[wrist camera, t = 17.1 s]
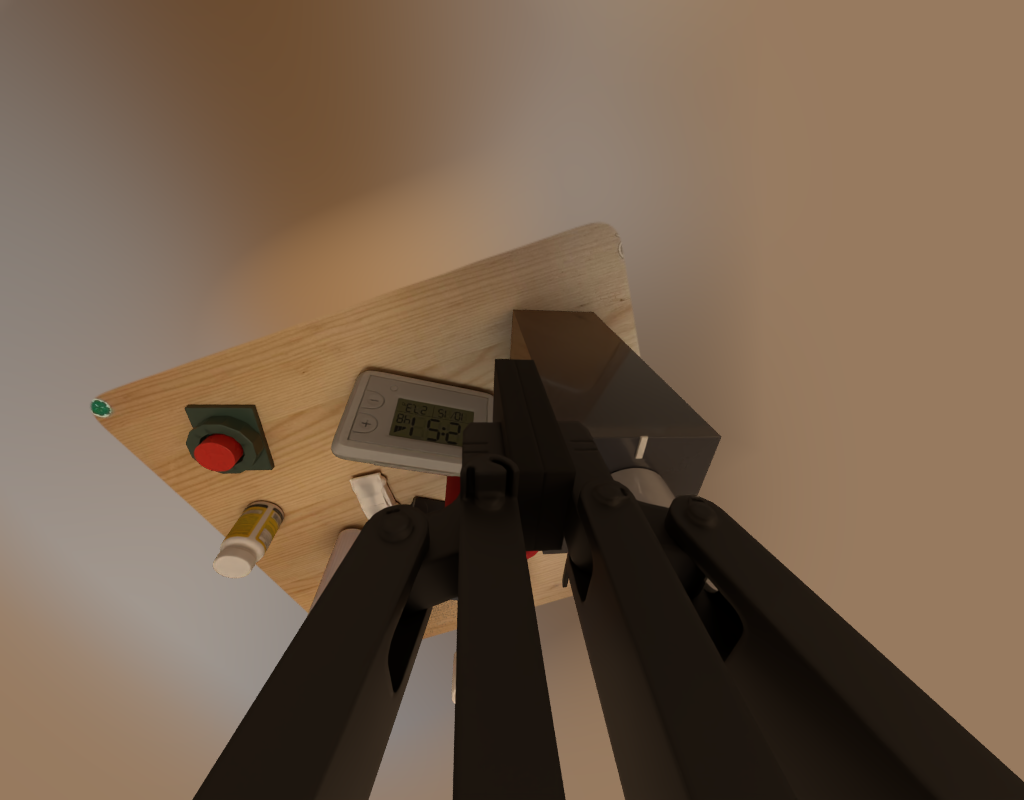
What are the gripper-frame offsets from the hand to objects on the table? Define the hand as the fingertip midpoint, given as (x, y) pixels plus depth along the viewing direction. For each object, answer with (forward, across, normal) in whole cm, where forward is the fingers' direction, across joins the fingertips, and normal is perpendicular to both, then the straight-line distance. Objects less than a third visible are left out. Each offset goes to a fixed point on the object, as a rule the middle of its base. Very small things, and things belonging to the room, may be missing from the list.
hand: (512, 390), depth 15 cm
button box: (+26, -30, -20) cm, 45 cm away
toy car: (+27, -14, -30) cm, 42 cm away
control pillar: (+26, +8, -8) cm, 29 cm away
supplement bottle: (+27, -29, -33) cm, 51 cm away
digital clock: (+27, -6, -15) cm, 31 cm away
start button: (+24, -29, -20) cm, 43 cm away
